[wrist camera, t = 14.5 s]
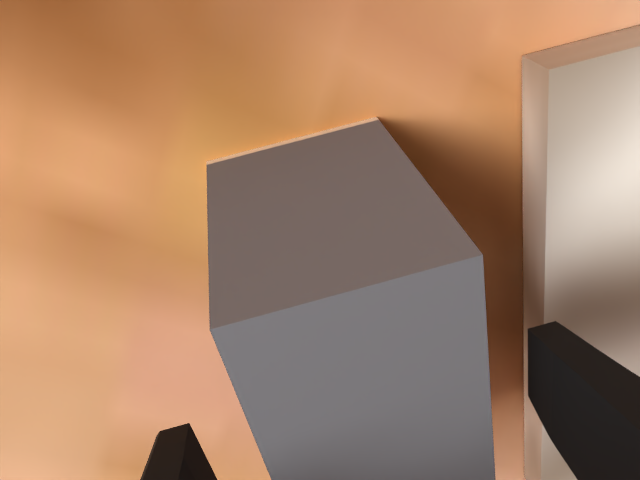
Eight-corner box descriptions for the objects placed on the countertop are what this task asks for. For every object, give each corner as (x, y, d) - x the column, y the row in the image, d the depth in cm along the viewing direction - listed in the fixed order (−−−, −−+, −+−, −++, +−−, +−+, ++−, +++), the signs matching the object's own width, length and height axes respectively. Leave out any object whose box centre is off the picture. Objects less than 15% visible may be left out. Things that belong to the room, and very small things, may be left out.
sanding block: (417, 382, 18) (500, 572, 13) (294, 417, 18) (330, 623, 13) (375, 115, 13) (482, 254, 8) (206, 159, 13) (209, 329, 8)
